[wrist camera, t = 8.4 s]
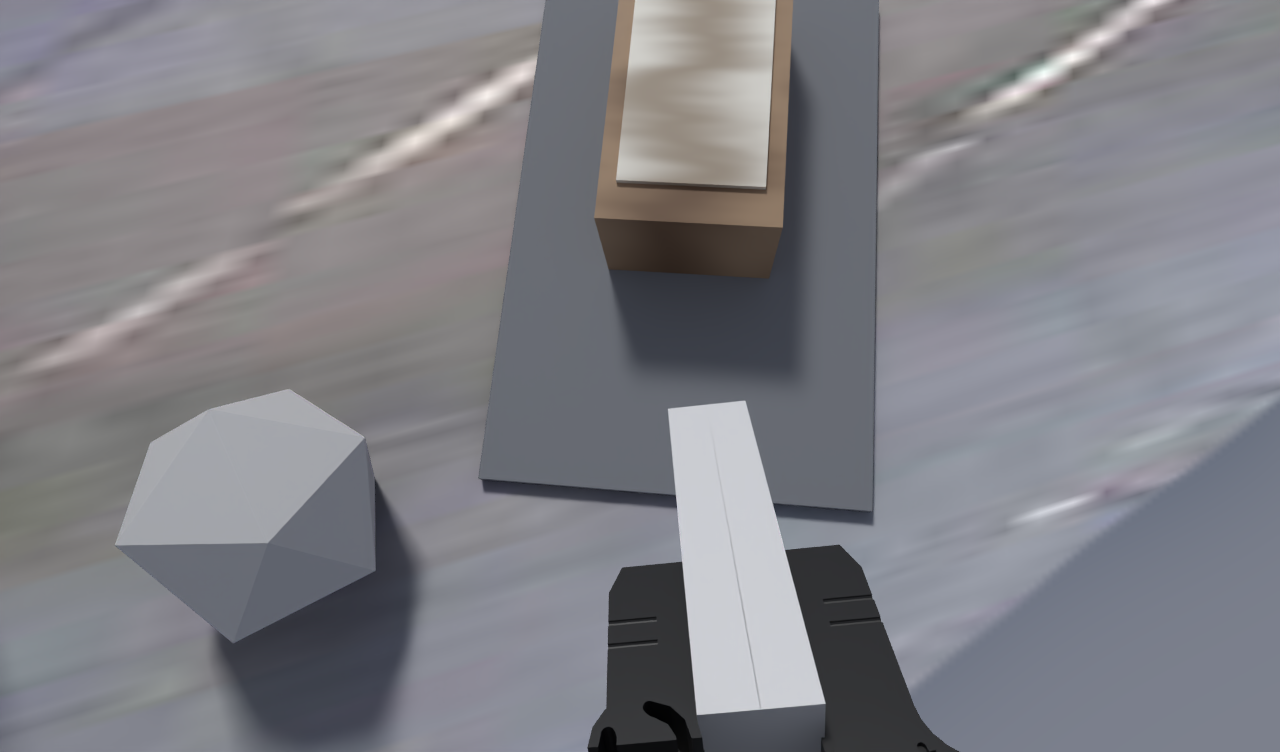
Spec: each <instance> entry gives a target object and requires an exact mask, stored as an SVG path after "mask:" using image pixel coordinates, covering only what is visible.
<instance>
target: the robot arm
mask: <svg viewBox="0 0 1280 752" xmlns="http://www.w3.org/2000/svg"><path fill="white" fill-rule="evenodd" d="M668 416H669V426H670V437H671V447H672V458H673V468H674V479H675V490H676V500H677V511H678V521H679V532H680V543H681V553H682V562H676V563H665V564H655V565H645V566H634V567H624V568H622V569H621V571H620V573H619V575H618V577H617V579H616V581H615V583H614V585H613V586H612V588H611V590H610V592H609V619H608V621H609V626H608V664H607V709H605V710H604V712H603V713H602V715H601V716H600V718H599V719H598V720H597V722H596V723H595V725H594V726H593V728H592V732H591V736H590V740H589V744H588V752H959V751H957V750H955V749H953V748H952V747H950V746H948V745H946V744H945V743H944V742H943V741H942V740H940V739H939V738H938V737H937V736H935V735H934V734H933V733H932V732H931V731H930V730H929V728H928V727H927V726H926V725H925V723H924V722H923V721H922V720H921V718H920V716H919V714H918V712H917V710H916V708H915V707H914V704H913V702H912V699H911V696H910V694H909V691H908V688H907V686H906V683H905V680H904V678H903V675H902V672H901V670H900V667H899V665H898V662H897V659H896V657H895V654H894V651H893V649H892V646H891V643H890V641H889V638H888V636H887V633H886V630H885V628H884V625H883V622H881V619H880V615H879V612H878V609H877V607H876V604H875V601H874V600H873V599H872V593H871V591H870V588H869V586H868V583H867V580H866V578H865V575H864V572H863V570H862V567H861V566H860V565H859V564H858V563H857V562H856V561H855V560H854V559H853V558H852V557H851V556H850V555H849V554H848V553H847V552H846V551H845V550H844V549H843V548H842V547H841V546H840V545H832V546H822V547H811V548H801V549H791V550H785V549H784V545H783V541H782V537H781V533H780V530H779V526H778V522H777V518H776V515H775V511H774V507H773V503H772V499H771V496H770V492H769V488H768V484H767V481H766V477H765V473H764V469H763V465H762V462H761V458H760V454H759V450H758V447H757V443H756V439H755V435H754V431H753V428H752V424H751V420H750V416H749V413H748V409H747V405H746V401H736V402H727V403H717V404H708V405H698V406H689V407H679V408H670V409H668Z"/></svg>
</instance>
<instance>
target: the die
mask: <svg viewBox="0 0 1280 752" xmlns="http://www.w3.org/2000/svg"><path fill="white" fill-rule="evenodd" d="M115 546H116V547H117V548H119V549H120V550H121V551H122V552H123V553H125V554H126V555H127V556H128V557H129V558H131V559H132V560H133V561H134V562H136V563H137V564H138V565H139V566H140V567H142V568H143V569H144V570H145V571H146V572H148V573H149V574H150V575H151V576H152V577H154V578H155V579H156V580H157V581H158V582H160V583H161V584H162V585H163V586H164V587H166V588H167V589H168V590H169V591H170V592H172V593H173V594H174V595H175V596H177V597H178V598H179V599H180V600H181V601H183V602H184V603H185V604H186V605H187V606H189V607H190V608H191V609H192V610H193V611H195V612H196V613H197V614H198V615H199V616H201V617H202V618H203V619H204V620H205V621H207V622H208V623H209V624H210V625H211V626H213V627H214V628H215V629H216V630H218V631H219V632H220V633H221V634H222V635H224V636H225V637H226V638H227V639H228V640H230V641H231V642H232V643H235V642H237V641H239V640H241V639H243V638H245V637H247V636H249V635H251V634H253V633H255V632H257V631H259V630H261V629H262V628H264V627H266V626H268V625H270V624H272V623H274V622H276V621H278V620H280V619H282V618H284V617H286V616H288V615H290V614H292V613H294V612H296V611H298V610H300V609H302V608H304V607H306V606H308V605H309V604H311V603H313V602H315V601H317V600H319V599H321V598H323V597H325V596H327V595H329V594H331V593H333V592H335V591H337V590H339V589H341V588H343V587H345V586H347V585H349V584H351V583H353V582H355V581H356V580H358V579H360V578H362V577H364V576H366V575H368V574H370V573H372V572H374V571H376V558H375V477H374V472H373V468H372V464H371V460H370V456H369V452H368V448H367V443H366V439H365V437H364V436H362V435H360V434H359V433H357V432H356V431H354V430H353V429H351V428H350V427H348V426H346V425H345V424H343V423H342V422H340V421H339V420H337V419H335V418H334V417H332V416H331V415H329V414H328V413H326V412H324V411H323V410H321V409H320V408H318V407H317V406H315V405H314V404H312V403H310V402H309V401H307V400H306V399H304V398H303V397H301V396H299V395H298V394H296V393H295V392H293V391H292V390H290V389H287V390H283V391H279V392H275V393H271V394H267V395H263V396H259V397H255V398H251V399H247V400H243V401H239V402H235V403H232V404H228V405H224V406H220V407H216V408H212V409H208V410H207V411H205V412H203V413H201V414H200V415H198V416H196V417H194V418H193V419H191V420H189V421H188V422H186V423H184V424H182V425H181V426H179V427H177V428H175V429H174V430H172V431H170V432H168V433H167V434H165V435H163V436H161V437H160V438H158V439H156V440H154V441H153V442H151V443H150V446H149V449H148V451H147V454H146V457H145V460H144V463H143V466H142V469H141V472H140V475H139V477H138V480H137V483H136V486H135V489H134V492H133V495H132V498H131V501H130V503H129V506H128V509H127V512H126V515H125V518H124V521H123V524H122V527H121V529H120V532H119V535H118V538H117V541H116V544H115Z"/></svg>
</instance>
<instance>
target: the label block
mask: <svg viewBox="0 0 1280 752" xmlns="http://www.w3.org/2000/svg"><path fill="white" fill-rule="evenodd" d="M792 14H793V0H619V2H618V11H617V20H616V29H615V37H614V46H613V55H612V64H611V73H610V82H609V91H608V100H607V108H606V117H605V126H604V135H603V144H602V153H601V162H600V170H599V179H598V188H597V197H596V206H595V215H594V219H595V223H596V226H597V230H598V233H599V237H600V241H601V244H602V248H603V251H604V255H605V259H606V262H607V266H608V269H610V270H628V271H645V272H662V273H680V274H697V275H715V276H732V277H750V278H767V279H769V277H770V273H771V269H772V266H773V262H774V258H775V254H776V251H777V247H778V243H779V240H780V236H781V232H782V229H783V212H784V190H785V168H786V146H787V124H788V102H789V80H790V58H791V36H792Z"/></svg>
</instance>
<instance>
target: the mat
mask: <svg viewBox="0 0 1280 752" xmlns="http://www.w3.org/2000/svg"><path fill="white" fill-rule="evenodd" d="M618 2H619V0H546V2H545V9H544V16H543V23H542V30H541V37H540V44H539V51H538V58H537V65H536V72H535V79H534V87H533V94H532V101H531V108H530V115H529V122H528V129H527V136H526V143H525V150H524V157H523V165H522V172H521V179H520V186H519V193H518V200H517V207H516V214H515V221H514V228H513V235H512V243H511V250H510V257H509V264H508V271H507V278H506V285H505V292H504V299H503V306H502V313H501V321H500V328H499V335H498V342H497V349H496V356H495V363H494V370H493V377H492V384H491V391H490V399H489V406H488V413H487V420H486V427H485V434H484V441H483V448H482V455H481V462H480V469H479V477H478V478H479V479H481V480H492V481H504V482H516V483H528V484H540V485H552V486H564V487H576V488H588V489H600V490H612V491H624V492H636V493H648V494H660V495H672V496H676V490H675V479H674V468H673V458H672V447H671V437H670V426H669V416H668V409H670V408H679V407H689V406H698V405H708V404H717V403H727V402H736V401H746V405H747V409H748V413H749V416H750V420H751V424H752V428H753V431H754V435H755V439H756V443H757V447H758V450H759V454H760V458H761V462H762V465H763V469H764V473H765V477H766V481H767V484H768V488H769V492H770V496H771V499H772V503H773V504H780V505H792V506H804V507H816V508H828V509H840V510H852V511H864V512H871V511H873V431H874V351H875V271H876V191H877V110H878V30H879V0H793V14H792V36H791V58H790V80H789V102H788V124H787V146H786V168H785V190H784V212H783V229H782V232H781V236H780V240H779V243H778V247H777V251H776V254H775V258H774V262H773V266H772V269H771V273H770V277H769V279H767V278H750V277H732V276H715V275H697V274H680V273H662V272H645V271H628V270H610V269H608V266H607V262H606V259H605V255H604V251H603V248H602V244H601V241H600V237H599V233H598V230H597V226H596V223H595V219H594V215H595V206H596V197H597V188H598V179H599V170H600V162H601V153H602V144H603V135H604V126H605V117H606V108H607V100H608V91H609V82H610V73H611V64H612V55H613V46H614V37H615V29H616V20H617V11H618Z"/></svg>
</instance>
